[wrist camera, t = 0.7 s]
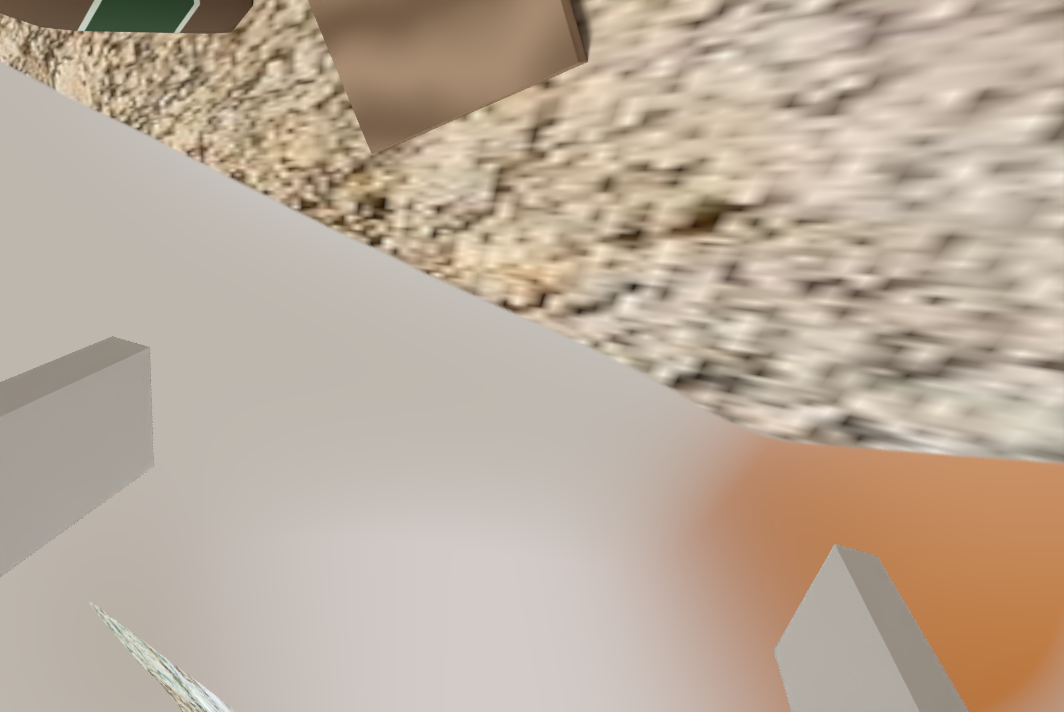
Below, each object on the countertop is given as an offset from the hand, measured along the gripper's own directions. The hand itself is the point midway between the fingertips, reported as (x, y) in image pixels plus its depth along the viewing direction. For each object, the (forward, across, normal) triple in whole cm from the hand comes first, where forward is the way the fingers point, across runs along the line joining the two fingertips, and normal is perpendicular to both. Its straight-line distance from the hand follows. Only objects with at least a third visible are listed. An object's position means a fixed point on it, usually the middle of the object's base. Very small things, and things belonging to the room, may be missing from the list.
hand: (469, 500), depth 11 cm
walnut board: (+30, -12, +12) cm, 35 cm away
